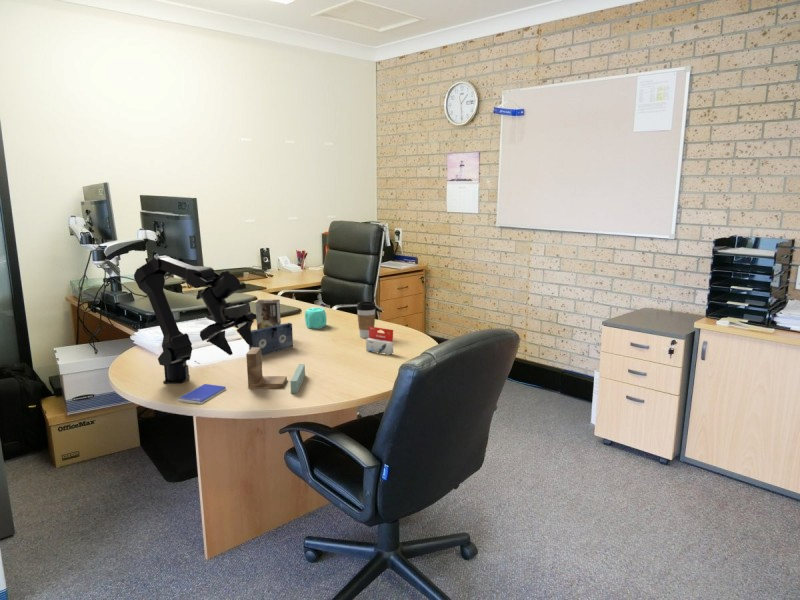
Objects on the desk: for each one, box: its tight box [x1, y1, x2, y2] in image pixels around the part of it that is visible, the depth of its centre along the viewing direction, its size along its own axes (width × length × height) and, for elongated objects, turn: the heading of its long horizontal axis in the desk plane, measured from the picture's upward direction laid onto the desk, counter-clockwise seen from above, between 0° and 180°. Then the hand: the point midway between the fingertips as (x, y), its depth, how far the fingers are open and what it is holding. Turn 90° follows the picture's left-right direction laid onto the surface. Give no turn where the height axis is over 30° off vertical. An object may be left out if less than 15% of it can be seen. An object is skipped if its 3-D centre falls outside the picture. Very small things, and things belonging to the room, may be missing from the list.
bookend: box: [245, 347, 288, 389], centre depth 175 cm, size 11×7×12 cm, turn 91°
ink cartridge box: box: [365, 326, 394, 355], centre depth 208 cm, size 2×11×10 cm, turn 62°
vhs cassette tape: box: [248, 322, 294, 356], centre depth 209 cm, size 18×3×10 cm, turn 135°
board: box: [289, 363, 306, 394], centre depth 176 cm, size 2×16×4 cm, turn 1°
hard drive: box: [177, 383, 227, 405], centre depth 167 cm, size 2×8×12 cm
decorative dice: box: [304, 307, 327, 330], centre depth 246 cm, size 8×8×8 cm
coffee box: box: [255, 299, 282, 330], centre depth 227 cm, size 9×6×16 cm
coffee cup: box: [356, 301, 377, 339], centre depth 229 cm, size 8×8×15 cm
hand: (241, 350), depth 163 cm, fingers open, 9 cm apart
